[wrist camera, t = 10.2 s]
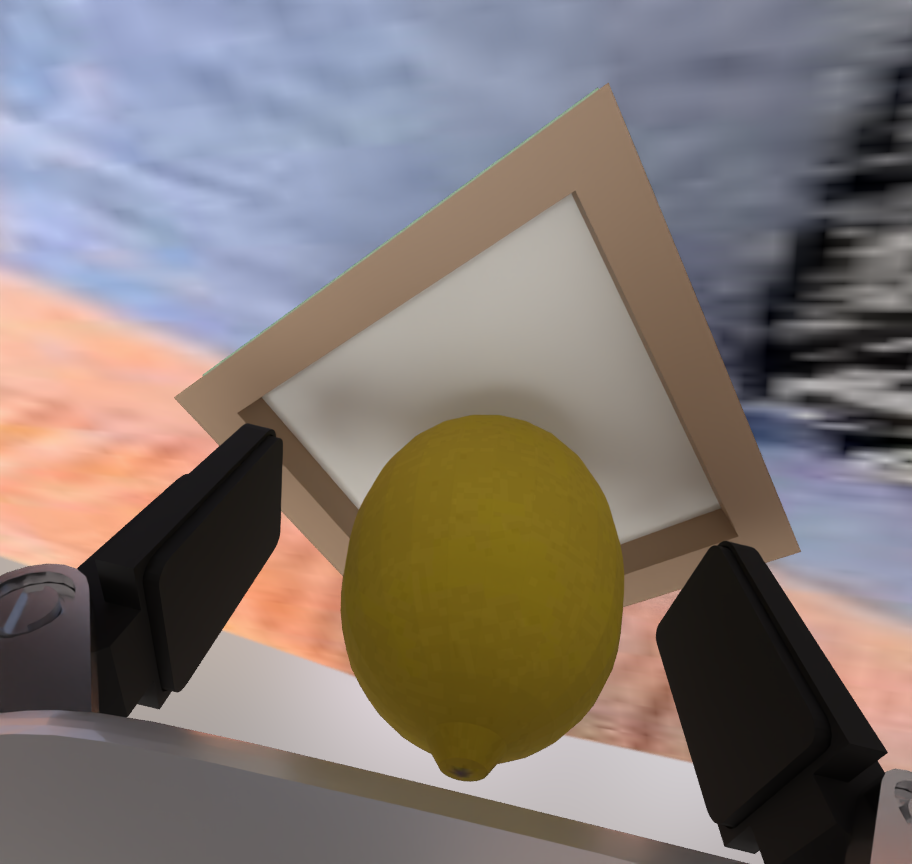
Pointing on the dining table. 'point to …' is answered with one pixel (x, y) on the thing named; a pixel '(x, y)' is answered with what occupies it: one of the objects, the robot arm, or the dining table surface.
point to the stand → (518, 357)
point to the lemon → (483, 592)
